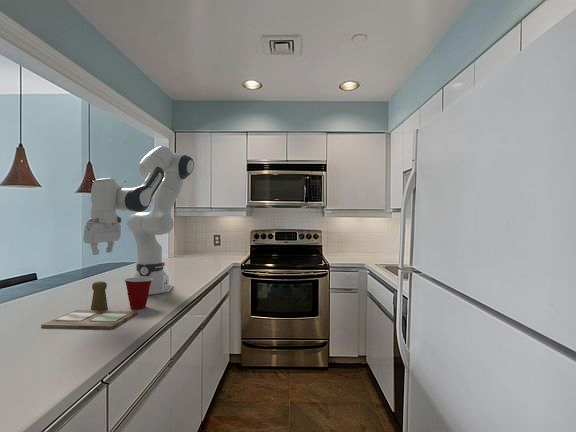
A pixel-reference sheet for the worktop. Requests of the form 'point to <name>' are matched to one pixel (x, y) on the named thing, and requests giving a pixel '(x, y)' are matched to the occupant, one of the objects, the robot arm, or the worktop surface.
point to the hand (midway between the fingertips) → (102, 253)
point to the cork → (99, 296)
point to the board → (90, 319)
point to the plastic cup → (138, 291)
